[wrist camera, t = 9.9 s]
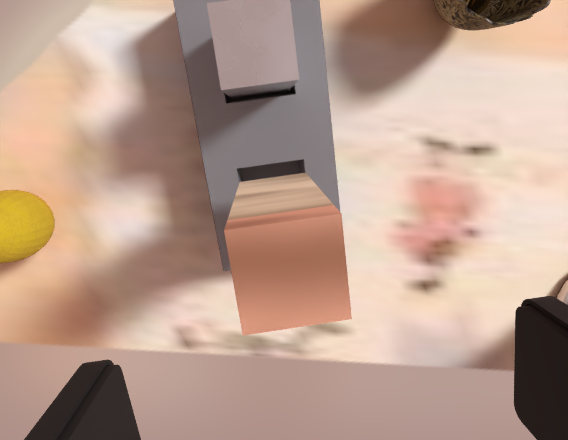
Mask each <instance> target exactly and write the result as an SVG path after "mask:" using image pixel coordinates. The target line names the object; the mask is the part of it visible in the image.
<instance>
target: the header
mask: <svg viewBox="0 0 568 440" xmlns="http://www.w3.org/2000/svg"><path fill="white" fill-rule="evenodd" d="M219 1H227V0H173V2H174V7H175V13H176V18H177V23H178V29H179V34H180V40H181V45H182V50H183V56H184V61H185V66H186V72H187V77H188V83H189V88H190V93H191V99H192V104H193V109H194V115H195V120H196V126H197V131H198V136H199V142H200V147H201V152H202V158H203V163H204V169H205V174H206V179H207V185H208V190H209V195H210V201H211V206H212V212H213V217H214V222H215V228H216V233H217V238H218V244H219V249H220V255H221V260H222V265H223V271H228V270H231V266H230V261H229V255H228V250H227V244H226V239H225V233H224V229H225V226H226V223H227V220H228V217H229V214H230V210H231V207H232V204H233V201H234V198H235V195H236V192H237V189H238V186H239V183H240V182H244V181H251V180H258V179H265V178H272V177H279V176H286V175H293V174H300V173H307V175H308V176H309V177H310V178H311V179H312V180H313V182H314V183H315V184H316V185H317V186H318V187H319V188H320V190H321V191H322V192H323V193H324V194H325V195H326V196H327V198H328V199H329V200H330V201H331V202H332V203H333V205H334V206H335V207H336V208H337V209H338V210H339V211H340V205H339V195H338V185H337V174H336V164H335V154H334V144H333V134H332V124H331V113H330V103H329V93H328V83H327V73H326V63H325V52H324V42H323V32H322V22H321V12H320V2H319V0H290V3H291V12H292V21H293V29H294V38H295V46H296V55H297V64H298V72H299V81H298V82H297V83H296V84H295V85H294V86H293V87H292V88H291V89H290V90H289V91H288V92H287V93H284V94H277V95H269V96H262V97H255V98H247V99H240V100H233V99H232V98H231V97H229V96H228V95H227V94H225V93H224V92H223V91H221V87H220V80H219V74H218V68H217V62H216V56H215V50H214V44H213V38H212V32H211V26H210V20H209V14H208V8H207V3H212V2H219Z"/></svg>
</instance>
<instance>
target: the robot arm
mask: <svg viewBox="0 0 568 440" xmlns="http://www.w3.org/2000/svg"><path fill="white" fill-rule="evenodd" d="M514 406H515V410H516V413H517V415H518V417H519V419H520V420H521V422H522V423H523V424H524V425H525V426H526V427H527V429H528V430H529V431H530V432H531V433H532V434H533V436H534V437H535V438H536V439H537V440H568V280H567V281H566V282H565V284H564V285H563V287H562V288H561V290H560V292H559V294H558V296H557V298H555V297H553V296H546V297H539V298H532V299H526V300H524V301H523V303H522V304H521V307H518V308H517V310H516V316H515V372H514ZM24 440H141V438H140V435H139V431H138V427H137V424H136V420H135V416H134V413H133V409H132V406H131V402H130V398H129V394H128V391H127V388H126V384H125V380H124V376H123V373H122V370H121V367H120V366H119V365H114V364H113V363H112V361H110V360H102V361H95V362H88V363H84V364H82V365H81V366H80V367H79V368H78V370H77V371H76V372H75V373H74V375H73V376H72V377H71V379H70V380H69V382H68V383H67V384H66V385H65V387H64V388H63V389H62V391H61V392H60V393H59V394H58V396H57V397H56V399H55V400H54V401H53V403H52V404H51V405H50V406H49V408H48V409H47V410H46V412H45V413H44V414H43V416H42V417H41V418H40V419H39V421H38V422H37V423H36V425H35V426H34V427H33V429H32V430H31V431H30V433H29V434H28V435H27V437H26V438H25V439H24Z"/></svg>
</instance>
